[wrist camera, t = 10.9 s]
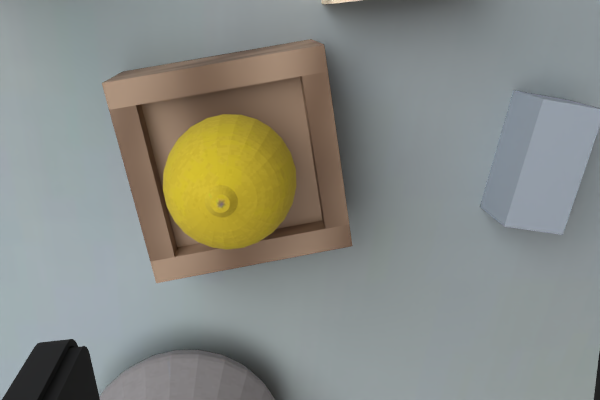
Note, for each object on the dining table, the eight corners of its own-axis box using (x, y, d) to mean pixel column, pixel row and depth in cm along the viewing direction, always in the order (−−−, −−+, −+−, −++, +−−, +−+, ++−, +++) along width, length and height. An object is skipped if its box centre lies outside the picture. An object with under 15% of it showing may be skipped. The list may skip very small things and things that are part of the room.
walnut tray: (310, 38, 30) (324, 44, 26) (335, 211, 34) (352, 245, 29) (124, 70, 30) (101, 83, 25) (168, 242, 33) (156, 283, 28)
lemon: (251, 238, 29) (238, 304, 21) (160, 173, 28) (111, 218, 20) (318, 152, 28) (329, 189, 20) (226, 82, 27) (200, 92, 19)
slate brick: (512, 89, 32) (543, 99, 29) (568, 99, 33) (605, 109, 29) (478, 205, 34) (504, 226, 31) (532, 213, 35) (562, 234, 31)
